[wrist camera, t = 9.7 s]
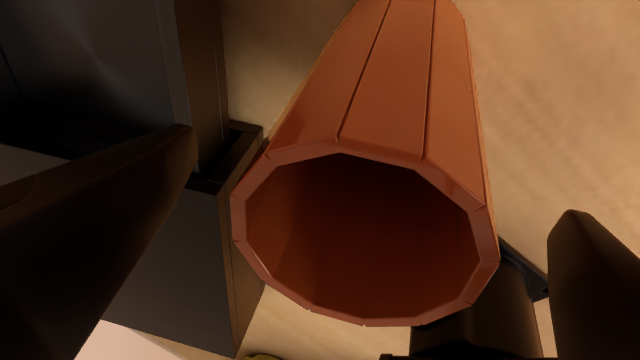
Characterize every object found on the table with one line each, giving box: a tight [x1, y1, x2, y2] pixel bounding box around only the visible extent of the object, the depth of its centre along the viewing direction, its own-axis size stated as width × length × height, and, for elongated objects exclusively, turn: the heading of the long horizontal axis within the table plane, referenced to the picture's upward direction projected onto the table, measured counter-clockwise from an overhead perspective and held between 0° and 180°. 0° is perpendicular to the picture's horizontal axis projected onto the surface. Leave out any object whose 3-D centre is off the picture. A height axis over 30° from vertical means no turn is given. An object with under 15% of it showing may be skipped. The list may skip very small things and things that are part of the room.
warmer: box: [0, 120, 264, 359], centre depth 24 cm, size 15×15×6 cm
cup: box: [230, 0, 500, 327], centre depth 12 cm, size 5×5×11 cm
